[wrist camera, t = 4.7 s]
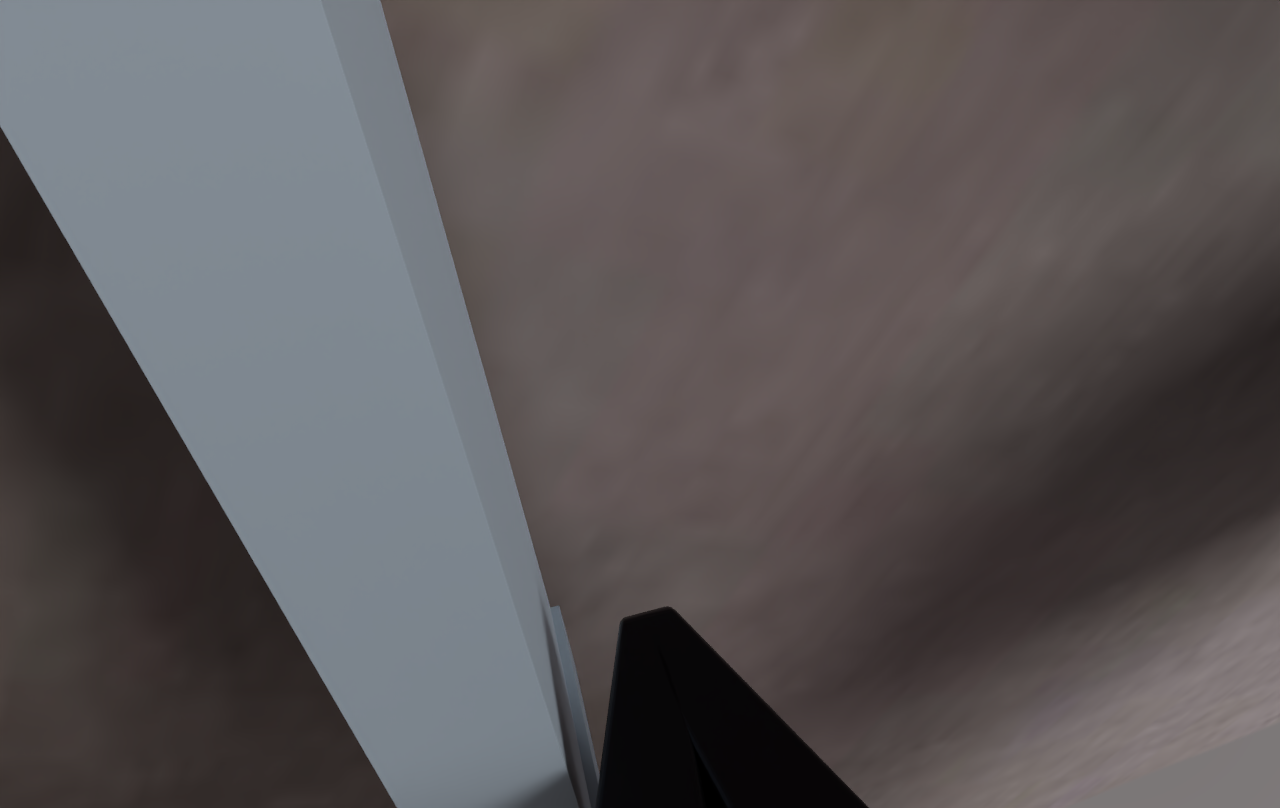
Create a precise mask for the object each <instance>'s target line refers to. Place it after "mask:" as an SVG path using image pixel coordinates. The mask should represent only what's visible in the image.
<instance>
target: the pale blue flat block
mask: <svg viewBox="0 0 1280 808" xmlns="http://www.w3.org/2000/svg"><path fill="white" fill-rule="evenodd" d="M0 127H1V128H2V130H3V132H4V133H5V135H6V137H7V139H8V140H9V142H10V144H11V145H12V147H13V149H14V151H15V152H16V154H17V156H18V158H19V159H20V161H21V163H22V164H23V166H24V168H25V170H26V171H27V173H28V175H29V176H30V178H31V180H32V182H33V183H34V185H35V187H36V188H37V190H38V192H39V194H40V195H41V197H42V199H43V200H44V202H45V204H46V206H47V207H48V209H49V211H50V213H51V214H52V216H53V218H54V219H55V221H56V223H57V225H58V226H59V228H60V230H61V231H62V233H63V235H64V237H65V238H66V240H67V242H68V243H69V245H70V247H71V249H72V250H73V252H74V254H75V255H76V257H77V259H78V261H79V262H80V264H81V266H82V267H83V269H84V271H85V273H86V274H87V276H88V278H89V280H90V281H91V283H92V285H93V286H94V288H95V290H96V292H97V293H98V295H99V297H100V298H101V300H102V302H103V304H104V305H105V307H106V309H107V310H108V312H109V314H110V316H111V317H112V319H113V321H114V322H115V324H116V326H117V328H118V329H119V331H120V333H121V334H122V336H123V338H124V340H125V341H126V343H127V345H128V347H129V348H130V350H131V352H132V353H133V355H134V357H135V359H136V360H137V362H138V364H139V365H140V367H141V369H142V371H143V372H144V374H145V376H146V377H147V379H148V381H149V383H150V384H151V386H152V388H153V389H154V391H155V393H156V395H157V396H158V398H159V400H160V402H161V403H162V405H163V407H164V408H165V410H166V412H167V414H168V415H169V417H170V419H171V420H172V422H173V424H174V426H175V427H176V429H177V431H178V432H179V434H180V436H181V438H182V439H183V441H184V443H185V444H186V446H187V448H188V450H189V451H190V453H191V455H192V456H193V458H194V460H195V462H196V463H197V465H198V467H199V469H200V470H201V472H202V474H203V475H204V477H205V479H206V481H207V482H208V484H209V486H210V487H211V489H212V491H213V493H214V494H215V496H216V498H217V499H218V501H219V503H220V505H221V506H222V508H223V510H224V511H225V513H226V515H227V517H228V518H229V520H230V522H231V523H232V525H233V527H234V529H235V530H236V532H237V534H238V536H239V537H240V539H241V541H242V542H243V544H244V546H245V548H246V549H247V551H248V553H249V554H250V556H251V558H252V560H253V561H254V563H255V565H256V566H257V568H258V570H259V572H260V573H261V575H262V577H263V578H264V580H265V582H266V584H267V585H268V587H269V589H270V591H271V592H272V594H273V596H274V597H275V599H276V601H277V603H278V604H279V606H280V608H281V609H282V611H283V613H284V615H285V616H286V618H287V620H288V621H289V623H290V625H291V627H292V628H293V630H294V632H295V633H296V635H297V637H298V639H299V640H300V642H301V644H302V645H303V647H304V649H305V651H306V652H307V654H308V656H309V658H310V659H311V661H312V663H313V664H314V666H315V668H316V670H317V671H318V673H319V675H320V676H321V678H322V680H323V682H324V683H325V685H326V687H327V688H328V690H329V692H330V694H331V695H332V697H333V699H334V700H335V702H336V704H337V706H338V707H339V709H340V711H341V712H342V714H343V716H344V718H345V719H346V721H347V723H348V725H349V726H350V728H351V730H352V731H353V733H354V735H355V737H356V738H357V740H358V742H359V743H360V745H361V747H362V749H363V750H364V752H365V754H366V755H367V757H368V759H369V761H370V762H371V764H372V766H373V767H374V769H375V771H376V773H377V774H378V776H379V778H380V780H381V781H382V783H383V785H384V786H385V788H386V790H387V792H388V793H389V795H390V797H391V798H392V800H393V802H394V804H395V805H396V807H397V808H595V807H596V799H597V792H598V784H599V777H600V775H599V770H598V766H597V761H596V757H595V752H594V748H593V743H592V739H591V734H590V730H589V725H588V721H587V716H586V712H585V707H584V703H583V698H582V694H581V689H580V685H579V680H578V676H577V671H576V667H575V663H574V659H573V655H572V652H571V648H570V644H569V640H568V637H567V633H566V629H565V626H564V622H563V618H562V614H561V611H560V607H559V606H555V607H552V608H550V605H549V601H548V597H547V594H546V590H545V587H544V583H543V580H542V576H541V572H540V569H539V565H538V562H537V558H536V555H535V551H534V547H533V544H532V540H531V537H530V533H529V530H528V526H527V522H526V519H525V515H524V512H523V508H522V505H521V501H520V497H519V494H518V490H517V487H516V483H515V480H514V476H513V472H512V469H511V465H510V462H509V458H508V455H507V451H506V448H505V444H504V440H503V437H502V433H501V430H500V426H499V423H498V419H497V415H496V412H495V408H494V405H493V401H492V398H491V394H490V390H489V387H488V383H487V380H486V376H485V373H484V369H483V365H482V362H481V358H480V355H479V351H478V348H477V344H476V340H475V337H474V333H473V330H472V326H471V323H470V319H469V316H468V312H467V308H466V305H465V301H464V298H463V294H462V291H461V287H460V283H459V280H458V276H457V273H456V269H455V266H454V262H453V258H452V255H451V251H450V248H449V244H448V241H447V237H446V233H445V230H444V226H443V223H442V219H441V216H440V212H439V208H438V205H437V201H436V198H435V194H434V191H433V187H432V183H431V180H430V176H429V173H428V169H427V166H426V162H425V159H424V155H423V151H422V148H421V144H420V141H419V137H418V134H417V130H416V126H415V123H414V119H413V116H412V112H411V109H410V105H409V101H408V98H407V94H406V91H405V87H404V84H403V80H402V76H401V73H400V69H399V66H398V62H397V59H396V55H395V51H394V48H393V44H392V41H391V37H390V34H389V30H388V27H387V23H386V19H385V16H384V12H383V9H382V5H381V2H380V0H0Z"/></svg>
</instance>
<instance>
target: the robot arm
mask: <svg viewBox="0 0 1280 808" xmlns="http://www.w3.org/2000/svg"><path fill="white" fill-rule="evenodd" d="M595 808H868V806H867V805H866V804H865V803H864V802H863V801H862V800H861V799H860V798H859V797H858V796H857V795H856V794H855V793H854V792H853V791H852V790H851V789H850V788H849V787H848V786H847V785H846V784H845V783H844V782H843V781H842V780H841V779H840V778H839V777H838V776H837V775H836V774H835V773H834V772H833V771H832V770H831V769H830V768H829V767H828V766H827V765H826V764H825V763H824V762H823V761H822V759H821V758H820V757H819V756H818V755H817V754H816V753H815V752H814V751H813V750H812V749H811V748H810V747H809V746H808V745H807V744H806V743H805V742H804V741H803V740H802V739H801V738H800V737H799V736H798V735H797V734H796V733H795V732H794V731H793V730H792V729H791V728H790V727H789V726H788V725H787V724H786V723H785V722H784V721H783V720H782V719H781V718H780V717H779V716H778V715H777V714H776V713H775V711H774V710H773V709H772V708H771V707H770V706H769V705H768V704H767V703H766V702H765V701H764V700H763V699H762V698H761V697H760V696H759V695H758V694H757V693H756V692H755V691H754V690H753V689H752V688H751V687H750V686H749V685H748V684H747V683H746V682H745V681H744V680H743V679H742V678H741V677H740V676H739V675H738V674H737V673H736V672H735V671H734V670H733V669H732V668H731V667H730V666H729V665H728V663H727V662H726V661H725V660H724V659H723V658H722V657H721V656H720V655H719V654H718V653H717V652H716V651H715V650H714V649H713V648H712V647H711V646H710V645H709V644H708V643H707V642H706V641H705V640H704V639H703V638H702V637H701V636H700V635H699V634H698V633H697V632H696V631H695V630H694V629H693V628H692V627H691V626H690V625H689V624H688V623H687V622H686V621H685V620H684V619H683V618H682V616H681V615H680V614H679V613H678V612H677V611H675V610H674V609H673V608H671V607H662V608H658V609H654V610H651V611H647V612H643V613H639V614H635V615H631V616H628V617H625V618H623V619H622V620H621V622H620V626H619V633H618V641H617V648H616V656H615V663H614V671H613V678H612V686H611V694H610V701H609V709H608V716H607V724H606V731H605V739H604V746H603V754H602V761H601V769H600V777H599V784H598V792H597V799H596V807H595Z"/></svg>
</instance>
